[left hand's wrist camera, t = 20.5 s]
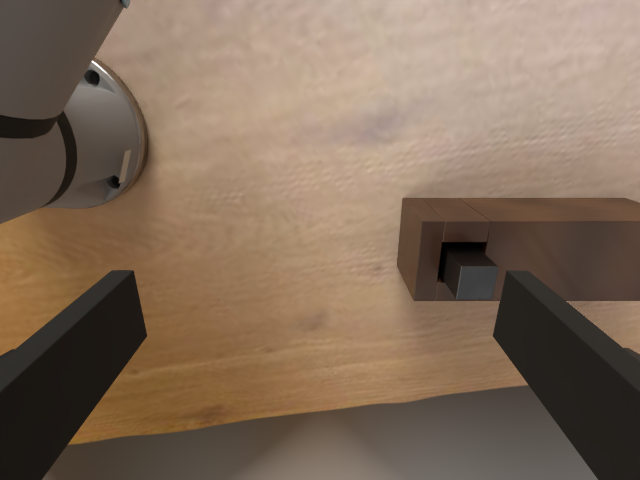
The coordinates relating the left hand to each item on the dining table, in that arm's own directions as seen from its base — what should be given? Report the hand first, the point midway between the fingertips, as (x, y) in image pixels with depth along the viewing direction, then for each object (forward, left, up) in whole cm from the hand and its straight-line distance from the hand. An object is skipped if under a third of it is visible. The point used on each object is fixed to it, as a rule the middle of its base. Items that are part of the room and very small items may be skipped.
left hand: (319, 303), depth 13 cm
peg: (+13, -7, -27) cm, 30 cm away
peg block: (+21, -7, -27) cm, 35 cm away
